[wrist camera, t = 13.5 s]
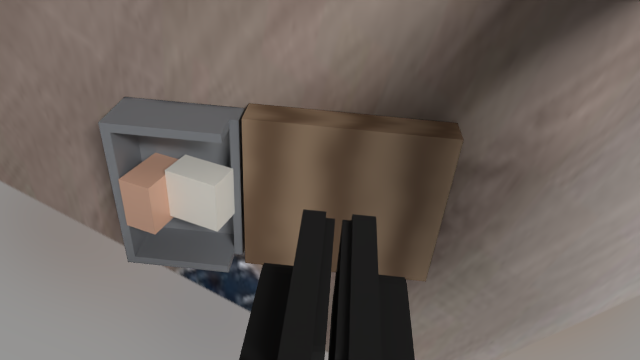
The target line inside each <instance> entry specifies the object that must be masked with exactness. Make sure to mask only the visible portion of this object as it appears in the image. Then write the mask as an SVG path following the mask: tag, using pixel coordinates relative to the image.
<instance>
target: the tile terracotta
mask: <svg viewBox="0 0 640 360" xmlns="http://www.w3.org/2000/svg"><path fill="white" fill-rule="evenodd" d="M177 160H179V159H176V158H173V157H169V156H166V155H162V154H159V153H154V154H153V155H151V156H150V157H149V158H147V159H146V160H144V161H143V162H142V163H140V164H139V165H137V166H136V167H135V168H133V169H132V170H131V171H129V172H128V173H126V174H125V175H124V176H122V177H121V178H119V179H118V180H119V185H120V191H121V196H122V201H123V206H124V211H125V217H126V222H127V225H128V226H131V227H134V228H137V229H140V230H143V231H146V232H149V233H152V234H156V233H157V232H159V231H160V230H161V229H162V228H163V227H164V226H165V225H166V224H167V223H168V222H169V221H170V220H171V219H172V218H173V216H170V208H169V200H168V193H167V185H166V177H165V170H166V169H167V168H168V167H170V166H171V165H172V164H174V163H175V162H176V161H177Z"/></svg>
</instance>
